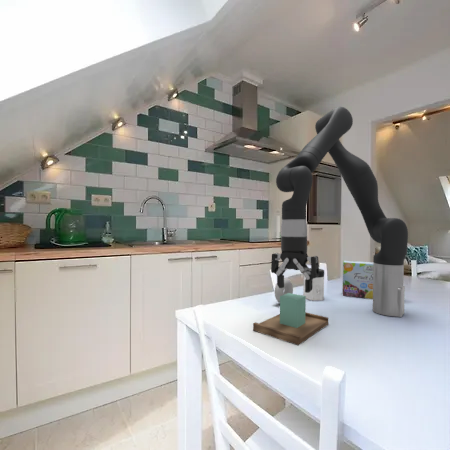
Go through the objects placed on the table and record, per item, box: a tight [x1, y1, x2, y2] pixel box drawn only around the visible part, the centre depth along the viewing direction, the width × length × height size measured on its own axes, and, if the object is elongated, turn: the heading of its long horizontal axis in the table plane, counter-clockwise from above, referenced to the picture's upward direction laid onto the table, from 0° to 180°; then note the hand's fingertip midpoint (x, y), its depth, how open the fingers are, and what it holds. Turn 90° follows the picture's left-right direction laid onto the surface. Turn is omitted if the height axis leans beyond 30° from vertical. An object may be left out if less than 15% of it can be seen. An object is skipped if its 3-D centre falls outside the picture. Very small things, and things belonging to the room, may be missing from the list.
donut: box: [274, 277, 294, 304], centre depth 105 cm, size 10×4×10 cm, turn 134°
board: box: [252, 311, 329, 346], centre depth 80 cm, size 14×20×2 cm
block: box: [279, 293, 307, 328], centre depth 80 cm, size 6×6×8 cm
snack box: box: [341, 260, 373, 300], centre depth 116 cm, size 21×6×15 cm, turn 68°
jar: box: [302, 267, 325, 302], centre depth 113 cm, size 9×8×12 cm
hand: (294, 289), depth 80 cm, fingers open, 8 cm apart
